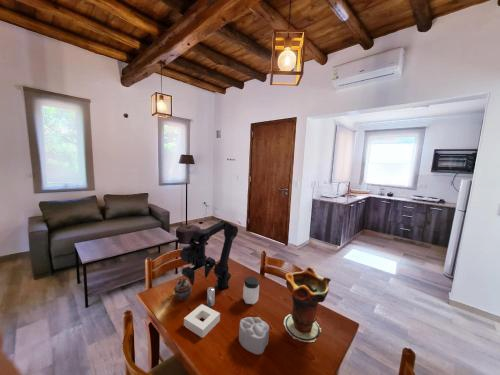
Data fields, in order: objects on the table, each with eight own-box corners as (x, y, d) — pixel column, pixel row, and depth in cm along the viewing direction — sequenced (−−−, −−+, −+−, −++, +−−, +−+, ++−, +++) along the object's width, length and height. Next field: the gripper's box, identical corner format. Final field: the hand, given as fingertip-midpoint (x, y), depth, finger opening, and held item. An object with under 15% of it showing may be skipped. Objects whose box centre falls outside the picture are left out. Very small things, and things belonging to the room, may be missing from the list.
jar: (241, 296, 120) (242, 277, 118) (253, 293, 123) (255, 274, 122) (246, 306, 112) (248, 285, 110) (260, 303, 115) (261, 283, 113)
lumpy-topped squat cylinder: (260, 357, 83) (261, 338, 82) (233, 342, 89) (234, 324, 88) (270, 339, 92) (271, 321, 91) (245, 326, 98) (246, 310, 97)
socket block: (201, 310, 106) (201, 303, 106) (219, 320, 100) (220, 313, 100) (183, 326, 96) (183, 318, 95) (202, 338, 90) (203, 329, 89)
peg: (212, 300, 114) (213, 286, 113) (215, 305, 111) (215, 290, 110) (205, 303, 112) (206, 287, 111) (208, 307, 109) (208, 292, 108)
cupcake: (192, 299, 114) (193, 283, 113) (174, 303, 110) (174, 286, 109) (190, 289, 123) (191, 274, 122) (173, 292, 119) (173, 276, 118)
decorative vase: (333, 325, 102) (338, 273, 97) (310, 356, 85) (315, 296, 81) (297, 303, 116) (300, 257, 112) (272, 326, 100) (274, 274, 96)
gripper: (203, 244, 121) (203, 269, 123) (175, 255, 106) (175, 282, 108) (216, 250, 114) (215, 276, 116) (188, 262, 100) (187, 291, 102)
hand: (199, 281), depth 111 cm, fingers open, 9 cm apart
